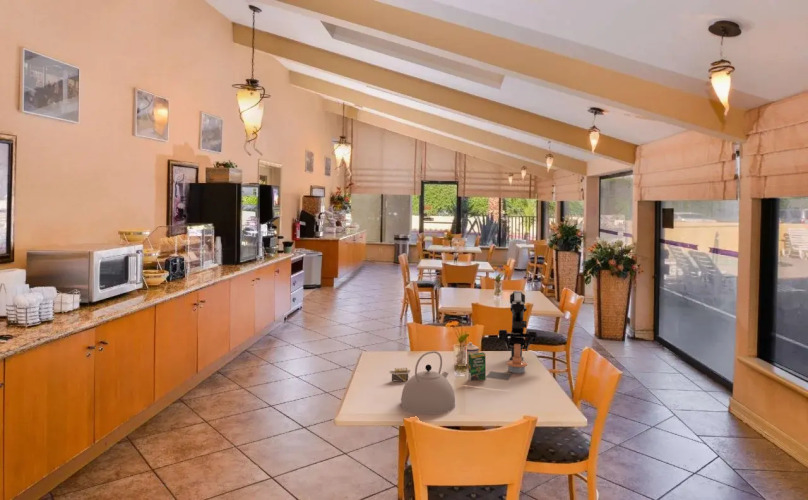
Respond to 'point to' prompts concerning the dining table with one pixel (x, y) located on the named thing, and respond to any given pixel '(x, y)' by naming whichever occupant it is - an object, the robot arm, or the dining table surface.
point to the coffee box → (477, 366)
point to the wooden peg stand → (517, 358)
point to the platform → (400, 374)
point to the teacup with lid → (471, 350)
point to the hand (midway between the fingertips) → (517, 350)
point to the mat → (499, 375)
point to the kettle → (428, 391)
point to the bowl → (517, 369)
